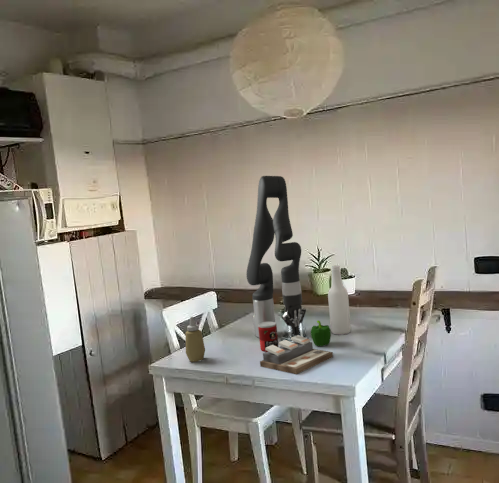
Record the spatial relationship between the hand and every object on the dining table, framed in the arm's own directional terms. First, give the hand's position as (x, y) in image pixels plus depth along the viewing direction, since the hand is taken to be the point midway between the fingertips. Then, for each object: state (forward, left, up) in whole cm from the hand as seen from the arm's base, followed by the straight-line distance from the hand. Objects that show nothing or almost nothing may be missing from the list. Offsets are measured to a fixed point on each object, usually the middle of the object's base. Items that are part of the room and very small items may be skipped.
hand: (295, 335), depth 227 cm
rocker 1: (+2, -15, -3) cm, 15 cm away
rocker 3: (+2, 0, -3) cm, 3 cm away
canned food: (-15, -1, -8) cm, 17 cm away
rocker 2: (+2, -8, -3) cm, 8 cm away
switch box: (+6, -8, -8) cm, 12 cm away
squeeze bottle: (-33, -26, -8) cm, 43 cm away
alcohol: (-3, +33, -8) cm, 34 cm away
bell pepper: (+1, +14, -8) cm, 17 cm away
